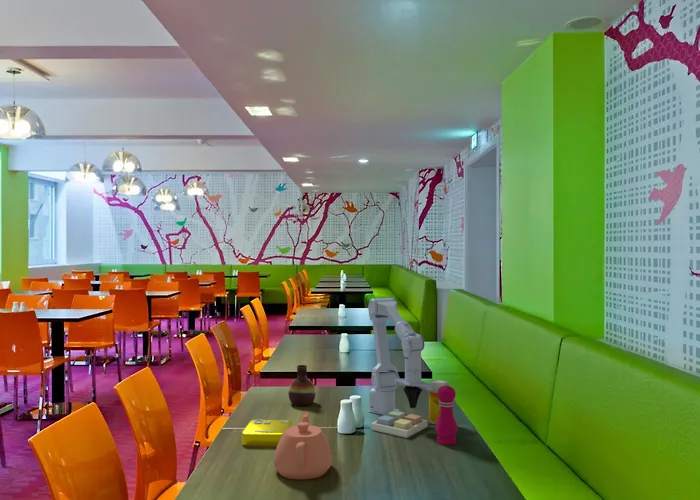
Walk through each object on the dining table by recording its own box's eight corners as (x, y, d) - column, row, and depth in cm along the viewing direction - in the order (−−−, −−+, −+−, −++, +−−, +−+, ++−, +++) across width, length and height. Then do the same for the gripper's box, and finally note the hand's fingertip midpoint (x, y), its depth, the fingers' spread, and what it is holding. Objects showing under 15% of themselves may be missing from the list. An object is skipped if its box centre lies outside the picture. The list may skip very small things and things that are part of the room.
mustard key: (393, 428, 194) (393, 422, 194) (400, 424, 198) (400, 418, 198) (405, 430, 192) (405, 424, 192) (411, 427, 195) (411, 421, 195)
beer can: (440, 426, 202) (440, 384, 201) (426, 423, 205) (425, 382, 205) (448, 422, 206) (448, 381, 206) (434, 419, 210) (434, 378, 210)
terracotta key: (404, 423, 200) (404, 416, 200) (410, 419, 204) (410, 413, 204) (415, 425, 197) (415, 419, 197) (421, 422, 201) (421, 416, 201)
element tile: (240, 447, 183) (240, 432, 183) (250, 431, 198) (250, 418, 198) (286, 447, 182) (286, 432, 182) (293, 432, 197) (293, 418, 197)
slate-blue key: (376, 424, 198) (376, 418, 198) (383, 421, 202) (383, 415, 202) (387, 427, 196) (387, 420, 196) (394, 423, 199) (394, 417, 199)
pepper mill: (457, 446, 182) (457, 384, 182) (434, 444, 183) (434, 383, 183) (457, 438, 189) (457, 379, 189) (435, 437, 190) (435, 378, 190)
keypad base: (371, 430, 198) (371, 423, 198) (392, 419, 210) (392, 413, 210) (406, 438, 190) (406, 431, 190) (427, 426, 201) (427, 420, 201)
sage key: (387, 419, 204) (387, 413, 204) (394, 416, 208) (394, 410, 208) (398, 421, 201) (398, 415, 201) (404, 418, 205) (404, 412, 205)
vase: (284, 401, 234) (284, 364, 234) (309, 398, 238) (309, 362, 238) (293, 409, 224) (293, 370, 224) (319, 405, 228) (319, 367, 228)
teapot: (279, 452, 177) (279, 409, 177) (333, 452, 177) (333, 409, 177) (268, 486, 152) (268, 437, 152) (331, 486, 152) (331, 436, 152)
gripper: (389, 368, 201) (389, 406, 201) (425, 374, 193) (425, 413, 193) (399, 365, 207) (400, 402, 207) (435, 370, 198) (435, 408, 199)
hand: (413, 407), depth 200 cm, fingers closed
